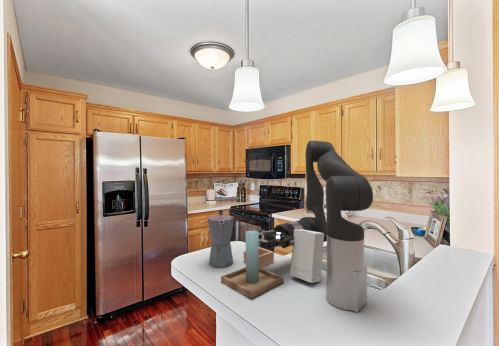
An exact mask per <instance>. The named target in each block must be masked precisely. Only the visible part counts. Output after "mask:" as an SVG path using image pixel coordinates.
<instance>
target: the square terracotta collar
mask: <svg viewBox="0 0 499 346" xmlns="http://www.w3.org/2000/svg"><path fill="white" fill-rule="evenodd" d="M274 257H275V252H274V251H272V250H270V249H267V248H262V246H261V247H260V246H259V267H260V268H264V267H266V266H268V265H271V264H273V263H275V262H274V261H275V258H274ZM243 263H244V264H246V250H244V251H243Z"/></svg>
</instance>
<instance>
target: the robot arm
mask: <svg viewBox="0 0 499 346" xmlns="http://www.w3.org/2000/svg"><path fill="white" fill-rule="evenodd" d="M314 163H316V168H317V172H318V173H319V176H320V177H321V179H323V181H324V182H326V184H325V191H324V186H323V184H322V183H321V181H320V179H319V177H318V175H317V173H316V170H315V167H314ZM305 174H306V198H305V199H306V201H305V208H306V210H307V211H309V212H312V213H313V214H314V217H313V216H304V217H302V218H300V219H299V220H295V221H288V222H284V223H280V224H277V225H276V226H275V227H274V228H273V229H272V230H266V229H265V228H263V229H258V230H257V231H258V232H259V242H262V243H266V244H265V245H266V246H265V249H267V250H270V249H273V248H280V247H281V249H286V248H289V247H291V246H292V247H293V245H294V229H300V230H308V231H314V232H320V233H324V235H325V234H326V278H325V279H326V281H325V282H326V286H325V288H326V289H325V291H326V294H325V296H326V297H325V298H326V300H327V301H328V303H329V304H331V305H332V306H334V307H335V308H338V309H342V310H346V311H352V312H356V313H359V311H360V310H361V309H362V308H363V307H364V306H365V305H366V304H367V302H368V301H367V299H368V298H367V297H368V295H367V293H368V291H367V290H368V267H367V266H365V229H364V227H363V226H362V225H360V224H359V223H356V222H352V221H349V220H348V219H345V218H344V217H343V216H342V211H343V212H362V211H365V210H367V209H369V208H370V207H371V206H372V203H373V202H374V191H373V187H372V186H371V184H370V181H368V179H367V178H366V177H365V176H363V174H360V173H359V172H357V171H356V170H355V169H353V168H352V167H351V166H350V165H349V164H348V163H347V162H346V161H345V159H343V157H342V156H341V155H339V153H338V152H337V150H336V149H335V147H334V146H333V144H332V142H329V141H324V140H323V141H322V140H309V141H308V142H307V144H306V148H305ZM324 199H325V200H324ZM324 201H325V202H324ZM324 203H325V204H326V205H325V207H326V208H324ZM325 209H326V213H325ZM325 214H326V215H325Z"/></svg>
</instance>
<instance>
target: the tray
mask: <svg viewBox="0 0 499 346" xmlns="http://www.w3.org/2000/svg"><path fill="white" fill-rule="evenodd" d="M284 279H285V278H284V276H281V275H279V274H277V273H274V272H272V271H270V270H267V269H265V268H263V267H261V268H260V267H259V282H258V283H255V284H250V283H247V282H246V266H245V267H242V268H240V269H238V270H234V271H232V272H229V273H227V274H224V275H221V276H220V280H221V281H220V282H221V283H222V284H223V285H225V286H227V287H228V288H230V289H232V290H234V291H235V292H237V293H238V294H241V295H243V296H244V297H246V298H248V299H249V300H254V299H256V298H258V297H259V296H262V295H263V294H266V293H268V292H269V291H271V290H273V289H276V288H277V287H279V286H281V285H283V284H284V283H285V281H284Z"/></svg>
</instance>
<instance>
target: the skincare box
mask: <svg viewBox="0 0 499 346" xmlns="http://www.w3.org/2000/svg"><path fill="white" fill-rule="evenodd" d="M324 238H325V234H324V233H320V232H314V231H308V230H300V229H294V245H292V249H291V258H290V269H289V271H290V272H289V275H290V276H292V277H294V278H297V279H299V280H303V281H305V282H308V283H311V284H312V283H320V282H321V280H322V270H323V269H322V268H323V257H324V256H323V255H324V254H323V253H324V243H325V242H324Z"/></svg>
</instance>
